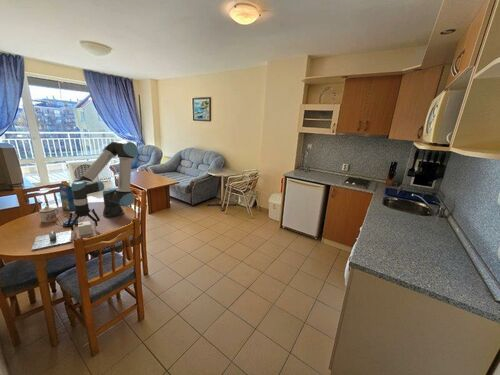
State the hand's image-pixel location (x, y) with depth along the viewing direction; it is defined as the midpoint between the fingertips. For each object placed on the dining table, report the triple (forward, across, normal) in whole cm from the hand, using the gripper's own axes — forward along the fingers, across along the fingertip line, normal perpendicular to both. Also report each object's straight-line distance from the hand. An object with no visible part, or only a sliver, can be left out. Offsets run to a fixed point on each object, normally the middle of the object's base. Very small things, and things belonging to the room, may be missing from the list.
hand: (85, 232), depth 151 cm
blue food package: (0, +10, -58) cm, 59 cm away
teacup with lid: (0, +21, -37) cm, 43 cm away
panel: (0, +17, +3) cm, 17 cm away
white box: (0, 0, 0) cm, 0 cm away
